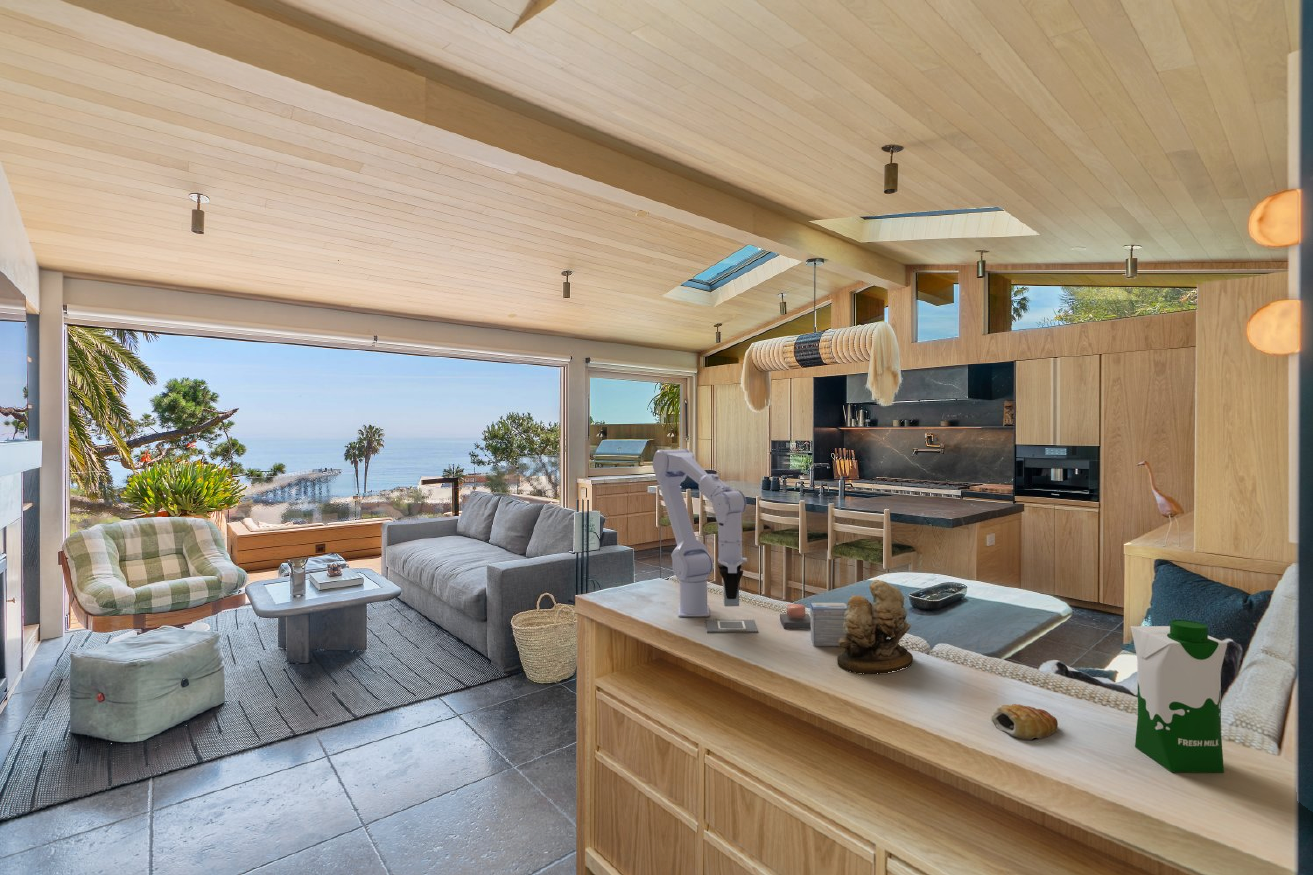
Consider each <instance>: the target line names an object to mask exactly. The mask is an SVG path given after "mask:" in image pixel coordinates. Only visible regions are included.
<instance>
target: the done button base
mask: <svg viewBox="0 0 1313 875" xmlns="http://www.w3.org/2000/svg"><path fill="white" fill-rule="evenodd" d="M779 621H780V624H781V625H782V627H783V629H785V630H787V629H786V628H811V620H810V614H808V613H805V617H803V618H792V617H789V616H787V613H779Z"/></svg>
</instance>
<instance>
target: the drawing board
mask: <svg viewBox="0 0 1313 875" xmlns="http://www.w3.org/2000/svg"><path fill="white" fill-rule="evenodd" d="M705 624H706V632H707V634H718V633H720V634H729V633H730V634H735V633H736V634H746V633H747V634H756V633H757V634H758V633H759V629H758V627H757V624H756V621H755V619H705Z"/></svg>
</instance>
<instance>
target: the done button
mask: <svg viewBox="0 0 1313 875" xmlns="http://www.w3.org/2000/svg"><path fill="white" fill-rule="evenodd" d="M786 614H787V616H789V617H792V618H803V617H805V614H806V606H805V605H804V604H801V603H789V604H787V605H786Z"/></svg>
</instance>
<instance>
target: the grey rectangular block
mask: <svg viewBox="0 0 1313 875" xmlns="http://www.w3.org/2000/svg"><path fill="white" fill-rule="evenodd" d="M723 604H724V605H723V606H724V607H740V585H739V586H738V592H737V597H736V599H727V596H726V591H725V585H724V581H723Z"/></svg>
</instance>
